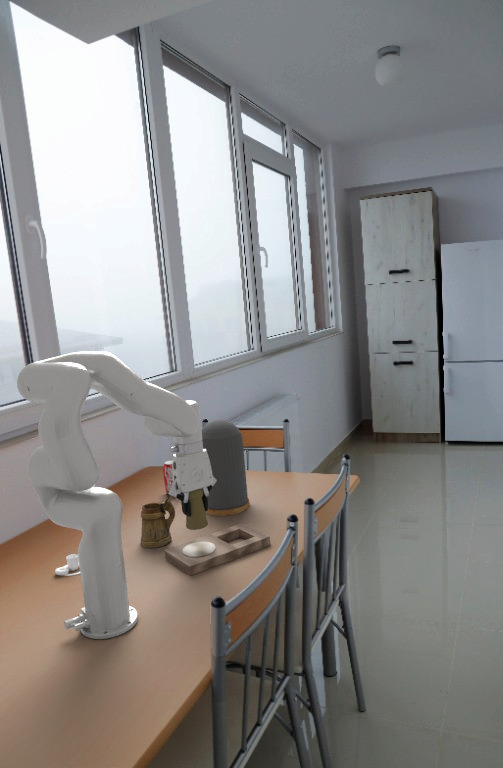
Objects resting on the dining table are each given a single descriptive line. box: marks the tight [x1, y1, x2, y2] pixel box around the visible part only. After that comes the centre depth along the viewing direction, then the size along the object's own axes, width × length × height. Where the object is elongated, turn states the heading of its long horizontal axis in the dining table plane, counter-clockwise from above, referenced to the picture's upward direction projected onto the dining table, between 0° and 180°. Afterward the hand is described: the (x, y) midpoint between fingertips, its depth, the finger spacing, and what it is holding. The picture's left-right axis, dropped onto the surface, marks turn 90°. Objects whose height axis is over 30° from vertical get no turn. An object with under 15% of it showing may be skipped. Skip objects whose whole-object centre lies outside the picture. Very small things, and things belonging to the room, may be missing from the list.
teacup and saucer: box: [54, 553, 81, 577], centre depth 162 cm, size 9×8×4 cm
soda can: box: [162, 459, 180, 495], centre depth 219 cm, size 7×7×12 cm
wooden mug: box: [140, 494, 176, 549], centre depth 175 cm, size 9×14×18 cm, turn 81°
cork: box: [185, 489, 209, 531], centre depth 160 cm, size 6×6×11 cm
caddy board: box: [164, 522, 271, 577], centre depth 166 cm, size 26×14×3 cm, turn 126°
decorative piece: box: [201, 419, 250, 517], centre depth 198 cm, size 16×16×30 cm
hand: (195, 511), depth 161 cm, fingers closed on cork, 4 cm apart
